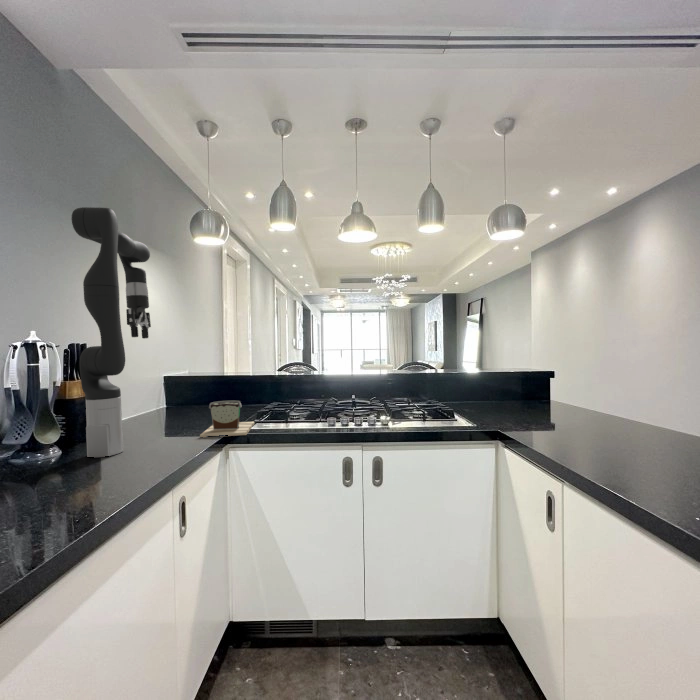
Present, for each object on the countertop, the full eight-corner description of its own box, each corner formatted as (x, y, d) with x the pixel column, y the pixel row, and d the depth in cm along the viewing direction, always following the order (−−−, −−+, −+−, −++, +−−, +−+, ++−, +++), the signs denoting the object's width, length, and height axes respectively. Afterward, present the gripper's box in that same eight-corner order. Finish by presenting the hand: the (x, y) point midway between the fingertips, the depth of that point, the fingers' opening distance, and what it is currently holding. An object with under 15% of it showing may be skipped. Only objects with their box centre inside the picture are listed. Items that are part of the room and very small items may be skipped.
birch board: (246, 434, 140) (246, 432, 139) (200, 437, 138) (199, 434, 138) (254, 423, 159) (254, 421, 159) (214, 426, 158) (214, 423, 158)
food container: (247, 425, 152) (246, 399, 152) (241, 428, 146) (240, 402, 145) (216, 426, 153) (215, 400, 152) (209, 429, 146) (208, 402, 146)
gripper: (138, 292, 143) (141, 336, 143) (155, 297, 158) (158, 337, 157) (117, 293, 143) (120, 337, 143) (136, 299, 157) (138, 339, 157)
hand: (140, 337), depth 150 cm, fingers open, 8 cm apart
